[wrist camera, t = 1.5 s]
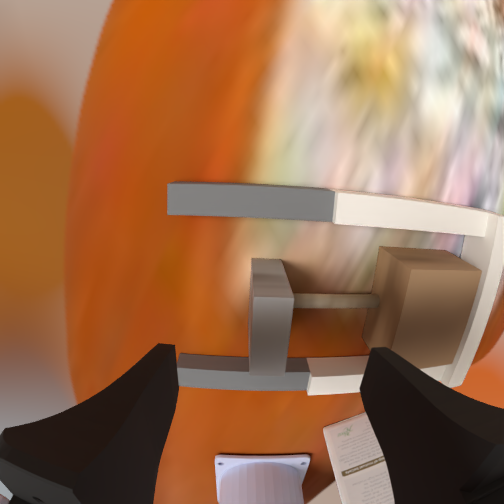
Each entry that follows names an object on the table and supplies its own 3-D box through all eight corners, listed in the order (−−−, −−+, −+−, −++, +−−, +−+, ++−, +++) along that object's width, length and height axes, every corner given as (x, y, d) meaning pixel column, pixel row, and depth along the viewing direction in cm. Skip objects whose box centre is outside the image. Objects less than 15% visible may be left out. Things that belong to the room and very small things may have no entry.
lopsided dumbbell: (424, 332, 19) (459, 373, 14) (247, 336, 18) (248, 391, 14) (444, 249, 17) (493, 277, 12) (252, 240, 17) (255, 272, 12)
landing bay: (303, 375, 19) (306, 390, 18) (181, 371, 19) (177, 385, 18) (327, 188, 16) (335, 191, 14) (174, 181, 16) (167, 183, 14)
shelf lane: (443, 363, 20) (461, 385, 17) (303, 375, 19) (310, 406, 16) (483, 209, 16) (512, 218, 13) (327, 188, 16) (344, 195, 13)
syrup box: (320, 426, 21) (358, 592, 7) (391, 400, 20) (462, 550, 7) (332, 460, 23) (364, 595, 9) (394, 437, 22) (446, 564, 8)
